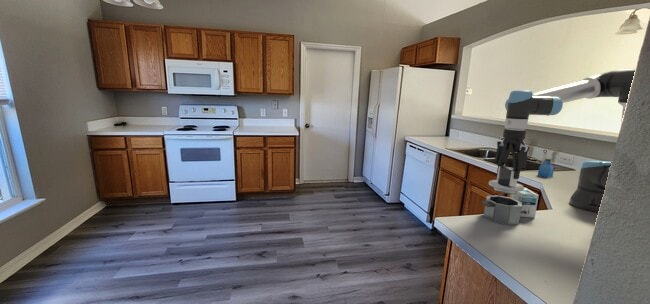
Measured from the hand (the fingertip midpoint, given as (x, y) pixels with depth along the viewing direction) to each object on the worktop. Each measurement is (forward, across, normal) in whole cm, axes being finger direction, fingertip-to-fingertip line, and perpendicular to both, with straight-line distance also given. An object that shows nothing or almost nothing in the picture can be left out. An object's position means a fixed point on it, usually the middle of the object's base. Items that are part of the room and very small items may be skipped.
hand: (506, 183), depth 115 cm
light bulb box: (+16, -4, +14) cm, 22 cm away
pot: (+16, 0, 0) cm, 16 cm away
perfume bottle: (+16, -56, +85) cm, 103 cm away
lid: (+3, 0, 0) cm, 3 cm away
